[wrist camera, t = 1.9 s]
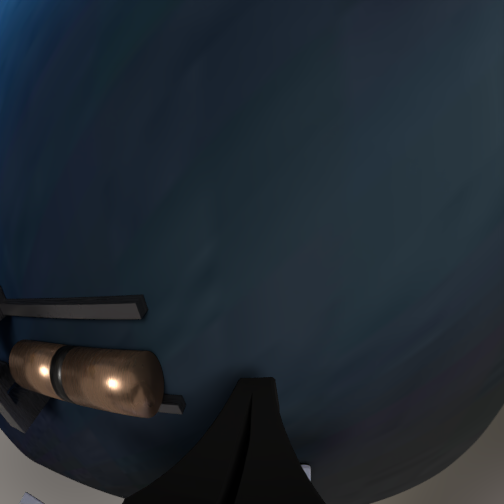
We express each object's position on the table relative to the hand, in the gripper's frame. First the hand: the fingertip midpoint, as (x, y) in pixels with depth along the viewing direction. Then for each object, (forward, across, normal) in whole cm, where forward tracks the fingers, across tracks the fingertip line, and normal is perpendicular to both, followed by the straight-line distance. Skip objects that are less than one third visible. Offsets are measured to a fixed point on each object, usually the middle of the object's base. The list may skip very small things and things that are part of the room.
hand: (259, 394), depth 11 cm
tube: (+2, +10, 0) cm, 11 cm away
